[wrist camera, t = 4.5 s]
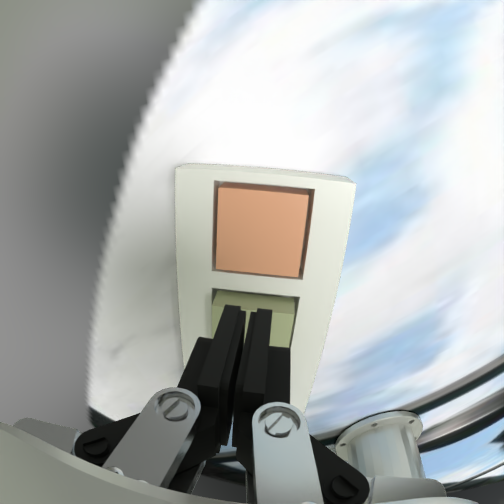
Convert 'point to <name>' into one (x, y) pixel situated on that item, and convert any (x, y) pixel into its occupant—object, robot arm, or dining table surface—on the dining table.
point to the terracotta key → (260, 228)
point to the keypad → (300, 288)
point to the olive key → (251, 302)
